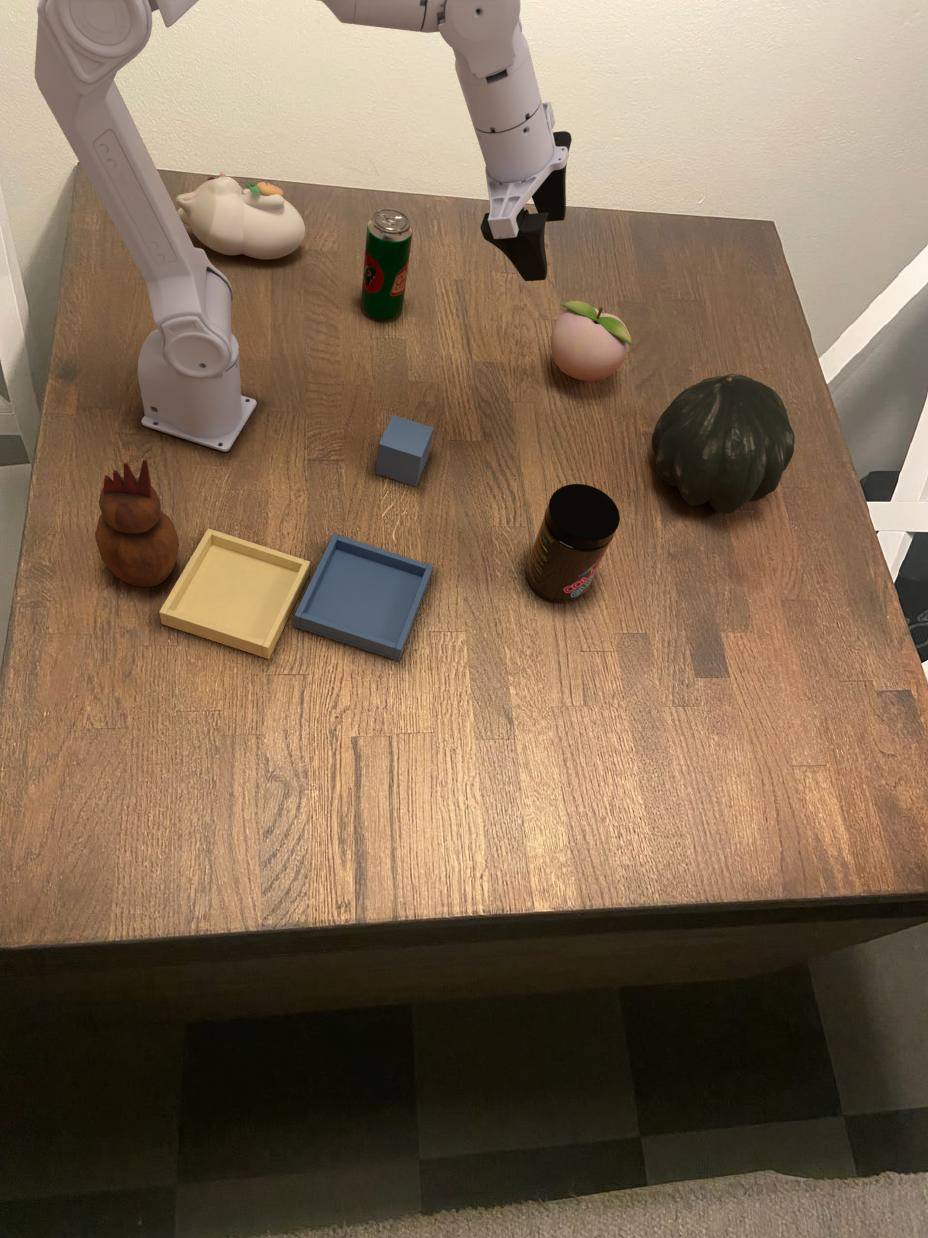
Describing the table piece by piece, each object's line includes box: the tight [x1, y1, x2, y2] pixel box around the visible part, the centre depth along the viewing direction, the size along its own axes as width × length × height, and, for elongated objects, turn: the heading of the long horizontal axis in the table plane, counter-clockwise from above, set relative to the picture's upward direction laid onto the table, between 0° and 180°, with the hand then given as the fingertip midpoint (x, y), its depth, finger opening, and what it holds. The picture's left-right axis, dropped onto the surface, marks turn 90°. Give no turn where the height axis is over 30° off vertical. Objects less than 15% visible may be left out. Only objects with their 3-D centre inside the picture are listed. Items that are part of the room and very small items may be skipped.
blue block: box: [375, 414, 434, 487], centre depth 95 cm, size 4×4×4 cm
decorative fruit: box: [550, 300, 633, 383], centre depth 105 cm, size 9×8×10 cm
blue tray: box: [293, 533, 434, 662], centre depth 86 cm, size 10×10×2 cm
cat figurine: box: [175, 171, 306, 260], centre depth 109 cm, size 10×8×15 cm
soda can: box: [360, 207, 414, 322], centre depth 105 cm, size 5×5×12 cm
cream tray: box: [158, 528, 311, 660], centre depth 84 cm, size 10×10×2 cm
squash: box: [651, 373, 796, 514], centre depth 99 cm, size 14×15×15 cm
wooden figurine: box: [94, 459, 180, 588], centre depth 79 cm, size 7×6×15 cm
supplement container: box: [525, 483, 621, 603], centre depth 88 cm, size 7×7×10 cm
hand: (545, 247), depth 84 cm, fingers open, 7 cm apart
